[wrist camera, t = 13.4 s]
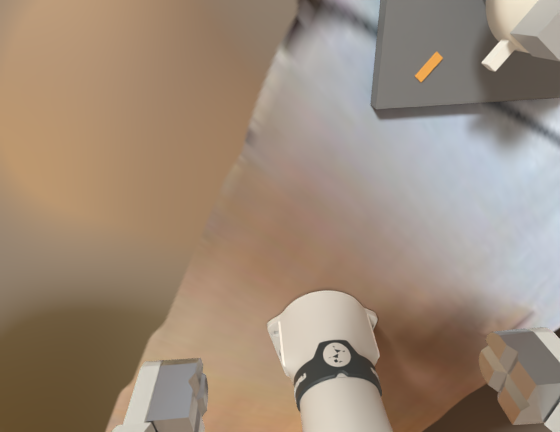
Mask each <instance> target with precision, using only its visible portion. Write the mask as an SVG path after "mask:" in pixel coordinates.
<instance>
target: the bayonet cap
mask: <svg viewBox="0 0 560 432" xmlns="http://www.w3.org/2000/svg"><path fill="white" fill-rule="evenodd" d="M486 17H487V21H488V25H489V28H490V30H491V32H492V34H493V35H494V37H495V38H496V39H497V40H498V41H499V43H498V44H497V45H496V46H495V47H494V49H493V50H492V51H491V52H490V53H489V54H488V56H487V57H486V58H485V59H484V60H483V61H482V62H481V63H482V64H483V65H484V66H485V67H486V68H487V69H488V70H491V71H496V70H497V69H498V68H499V67H500V66H501V65H502V64H503V62H504V61H505V60H506V59H507V58H508V57H509V56H510V55H511V53H512V52H513V51H514V50H516V51H520V52H526V53H530V54H531V55H532V56H534V57H539V58H544V59H550V60H555V61H560V0H486Z"/></svg>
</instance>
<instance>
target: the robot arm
mask: <svg viewBox="0 0 560 432" xmlns="http://www.w3.org/2000/svg"><path fill="white" fill-rule="evenodd" d="M377 320H378V319H377V315H376V313H375V312H373V311H371V310H369V309H366V308H364V307H363V306H362V305H361V304H360V303H359V302H358V301H357V300H356V299H355V298H353V297H352V296H350V295H348V294H346V293H342V292H338V291H318V292H313V293H309V294H306V295H304V296H302V297H300V298H298V299H296V300H295V301H293V302H292V303H291V304H290V305H289V306H288V307H287V308H286V309H285V310H284V311H283V312H282V313H281V314H280V315H279V316H277V317H275V318H273V319H272V320H270V321H269V322H268V323H267V328H268V332H269V334H270V337H271V339H272V342H273V345H274V347H275V350H276V352H277V355H278V357H279V360H280V362H281V365H282V367H283V370H284V372H285V374H286V375H287V376H289V377H290V379H291V381H292V383H293V385H294V396H295V400H296V404H297V408H298V410H299V411H300V413H301V421H302V430H303V432H393V430H392V427H391V425H390V422H389V419H388V417H387V414H386V411H385V408H384V405H383V402H382V399H381V396H382V390H381V386H380V380H379V377H378V375H377V373H376V370H375V367H374V366H375V365H376V363H377V360H378V358H379V357H380V355H379V350H378V347H377V343H376V340H375V336H374V333H373V330H374V328H375V325H376V323H377ZM485 341H486V342H487V344H488V346H487V347H485V348H484V349H483V350H481V352H480V355H479V358H478V359H479V367H480V370H481V373H482V375H483V377H484V379H485V381H486V382H487V384H488V385H489V386H490V387H492V388H493V389H495V390H496V391H498V402H499V403H500V405H501V407H502V408H503V410H504V412H505V413H506V415H507V416H508V418H509V420H510V421H511V423H512V424H513V425H519V424H533V423H545V424H544V425H545V426H546V427H548V428H549V429H550V430H551V431H552V432H560V339H559V338H558V337H557V336H556V335H555V334H554V333H553V332H552V331H551V330H550V329H548V328H543V327H541V328H532V329H516V330H506V331H497V332H491V333H490V334H488V336H487V338H486V340H485ZM202 370H203V363H202V360H201V358H191V359H176V360H160V361H149V362H144V364H143V365H142V367H141V368H140V371H139V375H138V378H137V381H136V384H135V387H134V391H133V394H132V397H131V400H130V404H129V407H128V410H127V413H126V416H125V420H124V423H123V425H117V426H116V427H115V428H114V429H113V430H112V431H111V432H204V430H205V427H204V423H203V420H202V416H203V415H204V413H205V412H206V411H207V403H208V384H207V378H206V375H205V374H204V373H202Z"/></svg>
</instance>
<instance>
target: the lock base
mask: <svg viewBox="0 0 560 432" xmlns="http://www.w3.org/2000/svg"><path fill="white" fill-rule="evenodd" d="M498 43H499V41H498V40H497V39H496V38H495V37H494V35H493V34H492V32H491V30H490V28H489V25H488V21H487V17H486V0H380V10H379V21H378V31H377V42H376V53H375V63H374V74H373V84H372V95H371V106H373V107H374V108H375V109H389V108H405V107H420V106H436V105H452V104H468V103H484V102H500V101H515V100H531V99H547V98H560V61H555V60H550V59H544V58H539V57H534V56H532V55H531V54H530V53H526V52H520V51H516V50H514V51H513V52H512V53H511V55H510V56H509V57H508V58H507V59H506V60H505V61H504V62H503V64H502V65H501V66H500V67H499V68H498V69H497V70H496V71H491V70H488V69H487V68H486V67H485V66H484V65H483V64H482V63H481V62H482V61H483V60H484V59H485V58H486V57H487V56H488V54H489V53H490V52H491V51H492V50H493V49H494V47H495V46H496V45H497V44H498Z"/></svg>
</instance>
